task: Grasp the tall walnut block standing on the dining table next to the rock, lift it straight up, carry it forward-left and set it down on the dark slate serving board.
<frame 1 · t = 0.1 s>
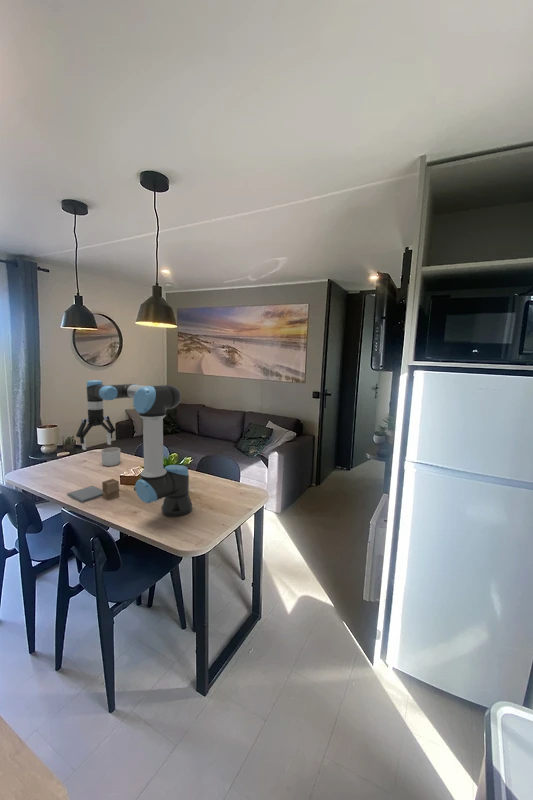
hand: (97, 446, 177), 28 cm above the table, fingers open, 13 cm apart
rock: (140, 487, 192), on the table
planter: (111, 464, 231), on the table
walnut block: (111, 497, 178), on the table
slate board: (87, 494, 180), on the table
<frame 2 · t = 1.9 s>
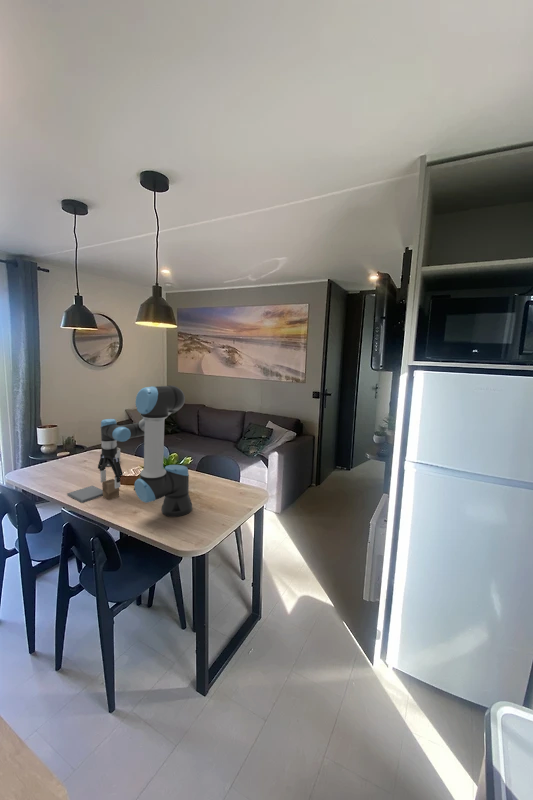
hand: (110, 484, 177), 7 cm above the table, fingers open, 13 cm apart
nothing on the table moved.
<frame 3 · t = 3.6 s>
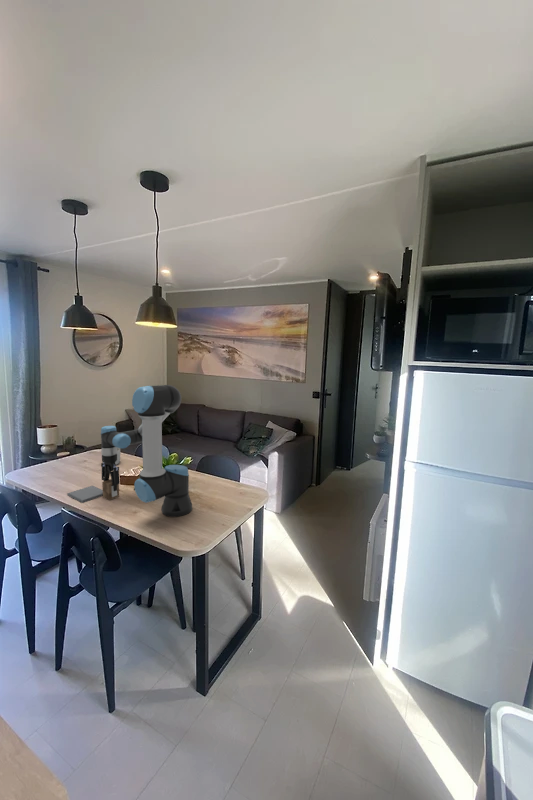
hand: (111, 494, 178), 1 cm above the table, fingers closed on walnut block, 6 cm apart
walnut block: (111, 497, 178), on the table, touching gripper
everything else where it was.
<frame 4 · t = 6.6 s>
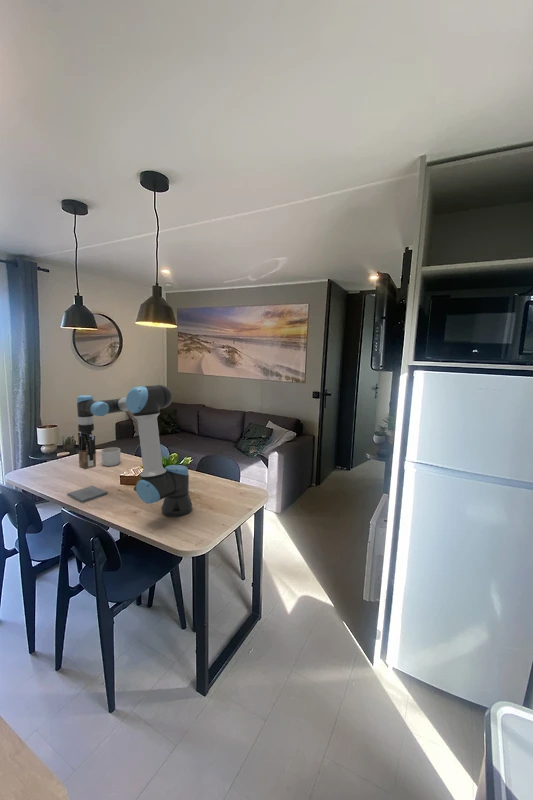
hand: (87, 464, 178), 18 cm above the table, fingers closed on walnut block, 6 cm apart
walnut block: (87, 466, 178), point 16 cm above the table, touching gripper
everything else where it was.
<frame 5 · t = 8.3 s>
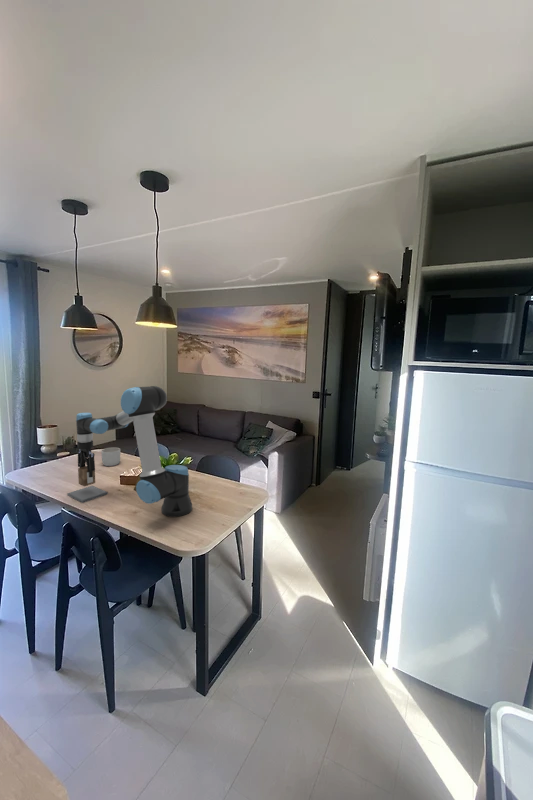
hand: (86, 481, 179), 8 cm above the table, fingers closed on walnut block, 6 cm apart
walnut block: (87, 483, 179), point 7 cm above the table, touching gripper
everything else where it was.
when the fingers open (4 cm above the table, at t = 9.8 s): walnut block drops 2 cm, resting on slate board.
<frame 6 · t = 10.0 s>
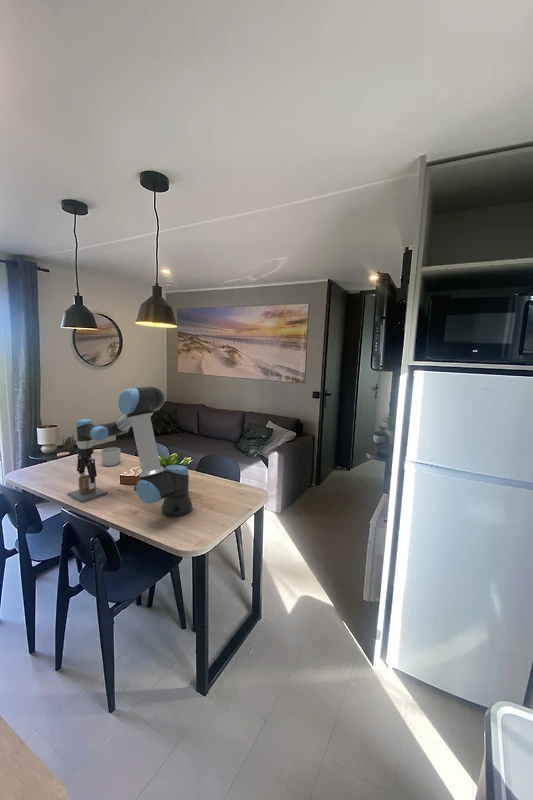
hand: (87, 486, 179), 5 cm above the table, fingers open, 9 cm apart
walnut block: (87, 492, 180), point 1 cm above the table, touching slate board
everything else where it was.
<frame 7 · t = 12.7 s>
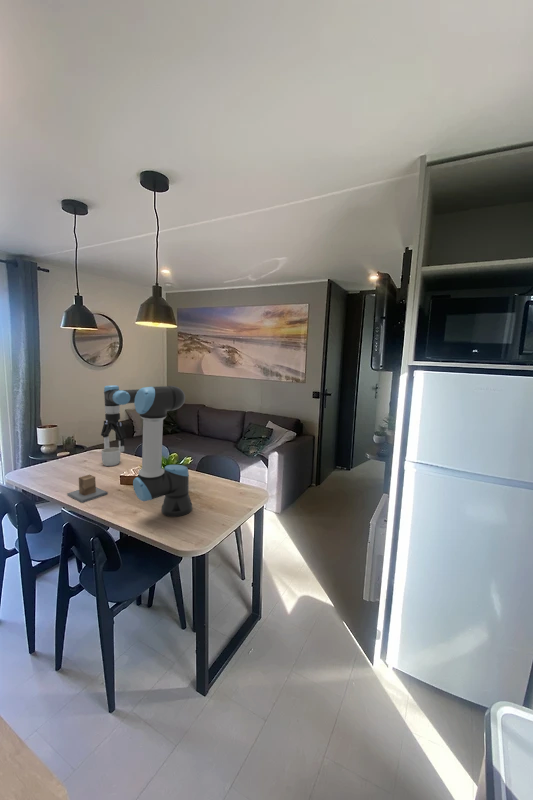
hand: (114, 449, 182), 25 cm above the table, fingers open, 13 cm apart
nothing on the table moved.
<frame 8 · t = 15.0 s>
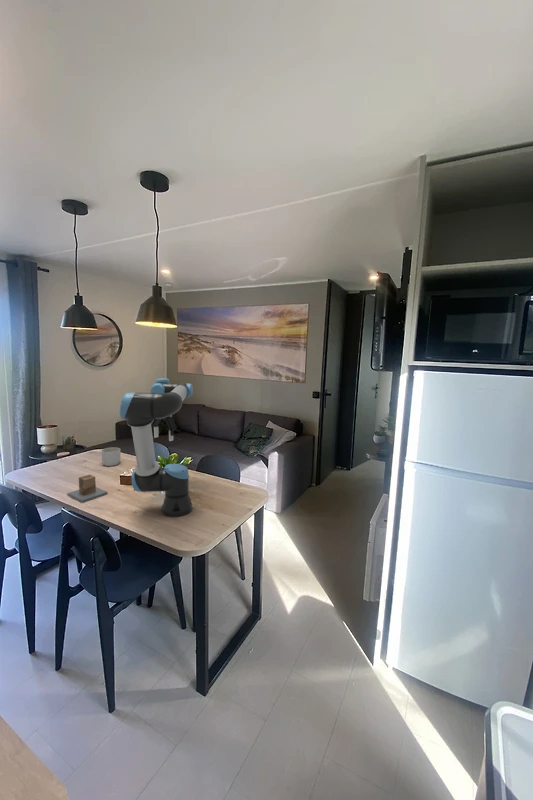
hand: (163, 439, 193), 29 cm above the table, fingers open, 13 cm apart
nothing on the table moved.
at the end: walnut block inside the target area on the slate board (0.0 cm from its centre), point 1.3 cm above the slate board's base; walnut block tilted 0°; the gripper is holding nothing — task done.
